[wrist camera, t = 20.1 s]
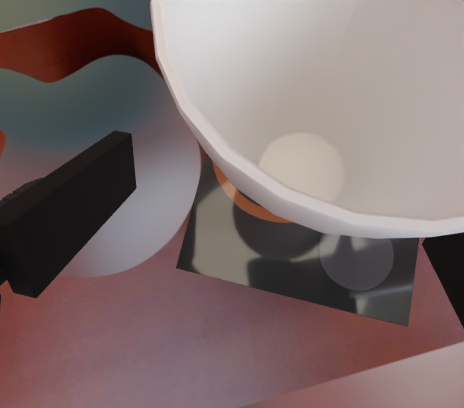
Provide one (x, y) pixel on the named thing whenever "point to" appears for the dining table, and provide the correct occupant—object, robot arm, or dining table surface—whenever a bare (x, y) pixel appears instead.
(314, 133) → the cup
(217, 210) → the hob plate
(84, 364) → the dining table surface
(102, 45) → the dining table surface
